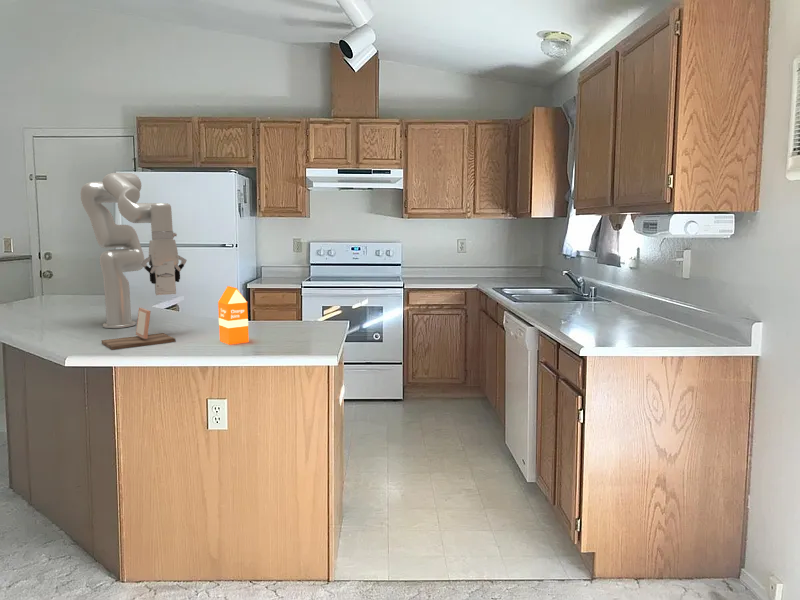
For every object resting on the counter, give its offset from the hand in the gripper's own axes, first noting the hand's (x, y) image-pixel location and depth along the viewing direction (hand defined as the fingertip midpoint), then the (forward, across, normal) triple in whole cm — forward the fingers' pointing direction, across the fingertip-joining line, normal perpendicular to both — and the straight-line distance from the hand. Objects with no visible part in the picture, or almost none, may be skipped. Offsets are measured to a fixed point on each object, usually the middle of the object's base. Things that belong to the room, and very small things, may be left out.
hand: (165, 282), depth 255 cm
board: (+20, +13, +7) cm, 25 cm away
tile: (+13, +11, +7) cm, 19 cm away
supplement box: (+5, 0, -1) cm, 5 cm away
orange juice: (+21, -14, +28) cm, 38 cm away
